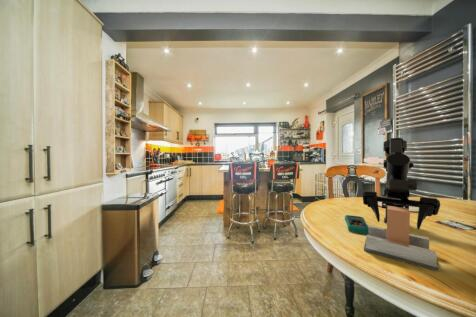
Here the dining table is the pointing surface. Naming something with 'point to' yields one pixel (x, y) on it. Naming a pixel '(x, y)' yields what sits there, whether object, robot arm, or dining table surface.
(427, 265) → the bench vise
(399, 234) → the terracotta block
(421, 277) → the dining table surface
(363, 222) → the digital multimeter
